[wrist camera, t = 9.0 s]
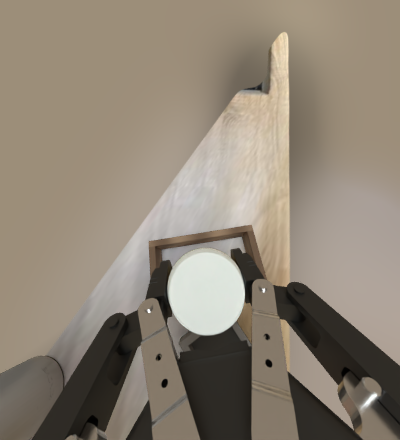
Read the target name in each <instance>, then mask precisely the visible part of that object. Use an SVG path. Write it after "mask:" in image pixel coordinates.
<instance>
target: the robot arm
mask: <svg viewBox="0 0 400 440" xmlns="http://www.w3.org/2000/svg"><path fill="white" fill-rule="evenodd" d="M231 259H232V260H233V261H234V262H235V263H236V264H237V266H238V268H239V269H240V271H241V274H242V277H243V280H244V286H245V302H246V303H251V306H252V346H248V343H247V340H244V341H239V342H233V343H230V344H228V345H226V346H224V347H222V348H220V349H219V350H217V351H205V350H197V349H196V350H191V351H185V352H180V359H178V356H177V353H176V350H175V347H174V344H173V341H172V338H171V335H170V332H169V329H168V325H167V319H168V317H172V309H171V307H170V304H169V300H168V294H167V285H168V279H169V276H170V273H171V271H172V266H171V262H170V260H166V261H161V263H160V268H155V270H154V271H153V273H152V275H151V280H150V284H149V287H148V291H147V295H146V299H145V301H144V302H142V304H141V305H140V306H139V308H138V310H137V311H135V312H133V313H131V314H129V315H127V316H125V315H124V314H123V313H116V314H114V315H112V316H111V317H109V318H108V319H107V320H106V321H105V323H104V324H103V326H102V328H101V329H100V331H99V332H98V334H97V336H96V337H95V339H94V340H93V342H92V344H91V345H90V347H89V349H88V350H87V352H86V353H85V355H84V357H83V358H82V360H81V361H80V363H79V365H78V366H77V368H76V369H75V371H74V373H73V374H72V376H71V377H70V379H69V381H68V382H67V384H66V385H65V387H64V389H63V375H62V371H61V369H60V366H59V365H58V364H57V362H56V361H55V360H53V359H52V358H50V357H47V356H38V357H34V358H31V359H29V360H27V361H25V362H23V363H21V364H19V365H17V366H15V367H13V368H11V369H9V370H7V371H5V372H3V373H1V374H0V440H29V439H30V438H31V437H32V436H34V437H33V439H32V440H107V436H106V434H105V430H106V428H107V425H108V422H109V420H110V417H111V415H112V412H113V410H114V407H115V404H116V402H117V399H118V397H119V394H120V392H121V389H122V386H123V384H124V381H125V379H126V376H127V374H128V371H129V368H130V366H131V363H132V361H133V358H134V355H135V353H136V350H137V348H138V347H139V346H140V345H141V349H142V356H143V363H144V369H145V376H146V383H147V389H148V396H149V400H148V402H147V404H146V405H145V407H144V409H143V410H142V412H141V414H140V416H139V417H138V419H137V421H136V423H135V424H134V426H133V428H132V430H131V431H130V433H129V435H128V437H127V438H126V440H400V366H399V365H398V364H397V363H396V362H395V361H393V360H392V359H391V358H390V357H389V356H387V355H386V354H385V353H384V352H383V351H381V349H379V348H378V347H377V346H376V345H375V344H374V343H372V342H371V341H370V340H369V339H368V338H367V337H365V336H364V335H363V334H362V333H361V332H359V331H358V330H357V329H356V328H355V327H354V326H352V325H351V324H350V323H349V322H348V321H347V320H346V319H344V318H343V317H342V316H341V315H340V314H339V313H337V312H336V311H335V310H334V309H333V308H332V307H330V306H329V305H328V304H327V303H326V302H324V301H323V300H322V299H321V298H320V297H319V296H317V295H316V294H315V293H314V292H313V291H312V290H311V289H309V288H308V287H307V286H306V285H304V284H302V283H299V282H291V283H289V284H288V285H287V287H281V286H275V285H272V284H271V283H270V282H269V281H267V280H265V278H264V277H263V275H262V273H261V272H260V270H259V268H258V267H257V265H256V263H255V262H254V260H253V258H252V257H251V256H250V255H249V254H247V253H243V254H242V252H241V250H240V248H237V249H231ZM280 319H283V320H286V321H287V322H288V324H289V325H290V326H291V327H292V329H293V330H294V331H295V332H296V334H297V335H298V336H299V337H300V338H301V340H302V341H303V342H304V343H305V345H306V346H307V347H308V348H309V350H310V351H311V352H312V353H313V354H314V356H315V357H316V358H317V360H318V361H319V362H320V363H321V365H322V366H323V367H324V368H325V369H326V371H327V372H328V373H329V375H330V376H331V377H332V378H333V379H334V381H335V382H336V383H337V384H338V395H339V399H340V401H341V403H342V405H343V407H344V408H345V410H346V411H347V413H348V414H349V416H350V418H351V421H352V424H353V428H354V430H353V429H351V428H350V427H349V426H348V425H347V424H346V423H345V422H343V420H341V419H340V418H339V417H338V416H337V415H336V414H335V413H333V412H332V411H331V410H330V409H329V408H328V407H327V406H326V405H325V404H323V403H322V402H321V401H320V400H319V399H318V398H317V397H316V396H315V395H313V394H312V393H311V392H310V391H309V390H308V389H307V388H305V387H304V386H303V385H302V384H301V383H300V382H299V381H298V380H297V379H295V378H294V377H293V376H292V375H291V374H290V373H289V372H288V371H287V365H286V358H285V351H284V344H283V337H282V331H281V324H280Z"/></svg>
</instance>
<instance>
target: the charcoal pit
mask: <svg viewBox="0 0 400 440" xmlns="http://www.w3.org/2000/svg"><path fill="white" fill-rule="evenodd" d="M244 340H247V343H248V346H252V345H251V343H250V341H249V340H248V338H247V337H246V335H245V334H244V332H243V331H242V329H241V328H240V326H239V324H238V323H237V321H236V322H235V323H234V324H233V325H232V326H231V327H230V328H228V329H227V330H225V331H224V332H222V333H219V334H216V335H199V334H196V333H193V332H191V331H190V332H188V333H187V334H186V335H184V336H183V337H182V338H181V339H180V342H179V344H180V346H181V348H182V350H183V352H185V351H191V350H196V349H197V350H205V351H217V350H219V349H220V348H222V347H224V346H226V345H228V344H230V343H233V342H239V341H244Z"/></svg>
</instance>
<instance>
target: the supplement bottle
mask: <svg viewBox="0 0 400 440" xmlns="http://www.w3.org/2000/svg"><path fill="white" fill-rule="evenodd" d="M167 294H168V300H169V304H170V307H171V309H172V311H173V313H174V315H175V317H176V319H177V320H178V321H179V322H180V324H182V325H183V326H184V327H185V328H186V329H188V330H189V331H191V332H193V333H196V334H199V335H216V334H219V333H222V332H224V331H225V330H227V329H228V328H230V327H231V326H232V325H233V324H234V323H235V322H236V321H237V319H238V317H239V316H240V314H241V312H242V309H243V306H244V301H245V286H244V280H243V277H242V274H241V271H240V269H239V268H238V266H237V264H236V263H235V262H234V261H233V260H232V259H231V258H230V257H229V256H228V255H226V254H225V253H223V252H221V251H219V250H216V249H213V248H199V249H195V250H192V251H190V252H188V253H186V254H185V255H183V256H182V257H181V258H180V259H179V260H178V261H177V262H176V264H175V265H174V267H173V268H172V271H171V273H170V276H169V279H168V285H167Z"/></svg>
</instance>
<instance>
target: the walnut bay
mask: <svg viewBox="0 0 400 440" xmlns="http://www.w3.org/2000/svg"><path fill="white" fill-rule="evenodd" d="M241 236H242V238H243V242H244V246H245V250H246V253H247V254H249V255H250V256H251V257H252V258H253V260H254V262H255V263H256V265H257V267H258V268H259V270H260V272H261V273H262V275H263V277H264V278H265V280H267V279H266V275H265V272H264V268H263V264H262V261H261V257H260V254H259V250H258V246H257V243H256V239H255V235H254V232H253V228H252V225H248V226H241V227H235V228H229V229H223V230H217V231H210V232H204V233H198V234H192V235H186V236H179V237H173V238H167V239H161V240H154V241H149V258H150V277H151V275H152V273H153V271H154V270H155V268H160V263H161V261H162V254H161V249H167V248H174V247H180V246H186V245H192V244H198V243H204V242H211V241H217V240H223V239H229V238H235V237H241Z"/></svg>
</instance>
